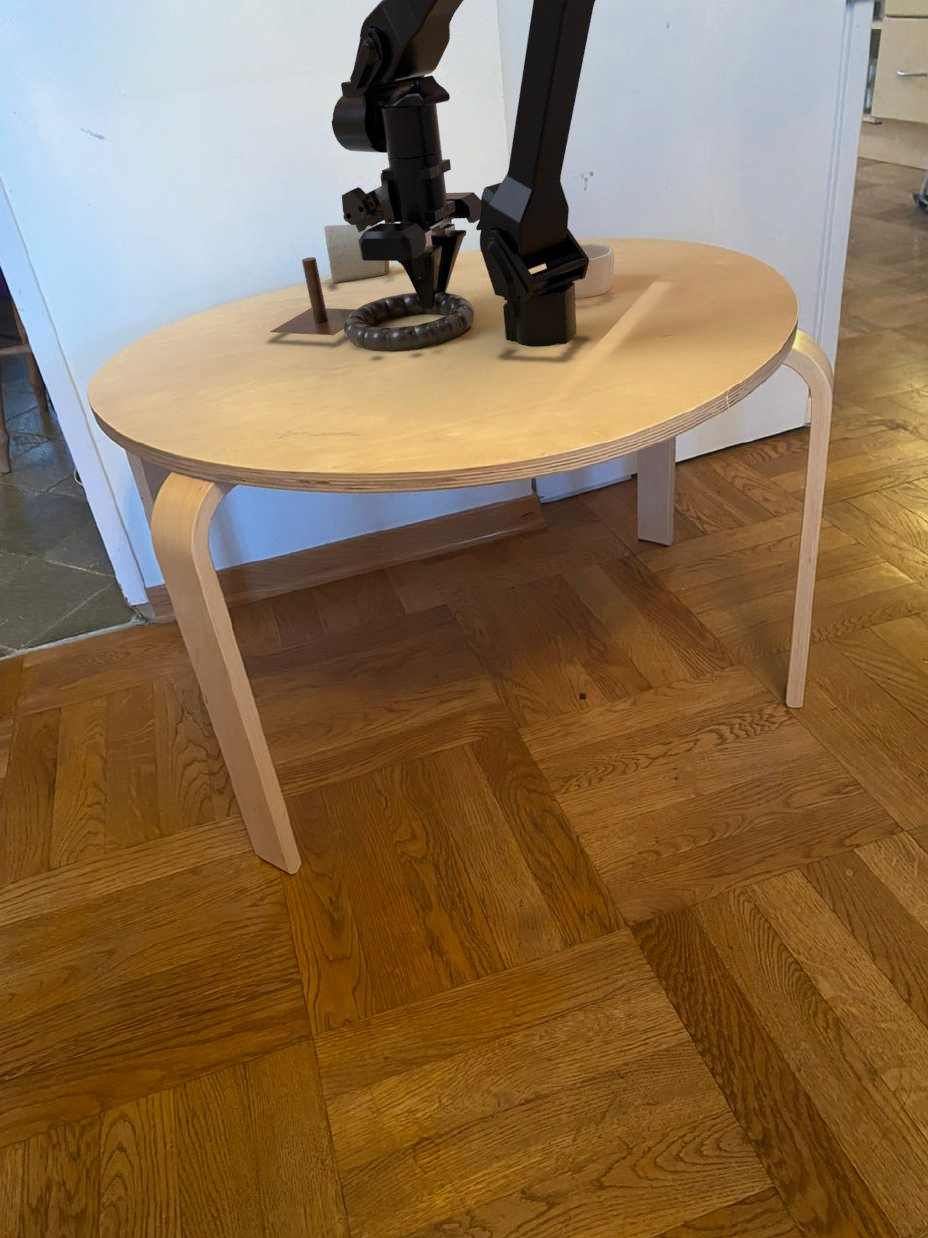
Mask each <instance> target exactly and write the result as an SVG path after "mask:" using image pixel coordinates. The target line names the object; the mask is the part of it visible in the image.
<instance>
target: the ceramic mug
mask: <svg viewBox="0 0 928 1238" xmlns="http://www.w3.org/2000/svg"><path fill="white" fill-rule="evenodd" d="M378 224H379V223H377V224H376V225H378ZM376 225H374V226H376ZM374 226H367V227H366V229H365V230H364V231H366V230H368V229H370V228H372V227H374ZM323 229H324V230H323V231H324V235H325V236H324V237H325V245H326V250H327V257H328V262H329V269H330V275H331V278H330V279H331V283H332V284H337V283H343V282H349V281H357V280H362V279H370V278H375V277H380V276H381V277H382V276H386V275H388V274H390V272H391V271H390V261H363V260H362V259H361V254H360V248H359V242H358V241H359V239H360V237H361V236H362V234H363V233H364V231H362V232H360V233H359V232H358V230H357V228H356V226H355V225H351V224H333V225H325V226H324V228H323Z"/></svg>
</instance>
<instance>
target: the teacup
mask: <svg viewBox="0 0 928 1238" xmlns="http://www.w3.org/2000/svg"><path fill="white" fill-rule="evenodd" d="M578 243H579V242H578ZM579 245H580V246H581V248H582V249H583V251H584V252H585V254H586V255H587V256H588V258H589V264H588V268H587V272H586V276H585V278H584V279H581V280H577V281H574V283H575V300H577V299H585V298H586V299H587V298H588V299H589V298H593V297H597V296H600V295H603V294H605V293H607V292H609V290H610V288H611V286H612V284H613V283H612V282H613V280H614V270H615V269H614V268H615V251H614V248H613V247H612V246H611V245H609V244H605V243H599V242H580V243H579Z"/></svg>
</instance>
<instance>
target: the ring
mask: <svg viewBox="0 0 928 1238" xmlns="http://www.w3.org/2000/svg"><path fill="white" fill-rule="evenodd" d="M356 309H357V310H355V311H353V312H352V313H351V314H350V315H349V316H348V318H347V320H346V322H345V325H344V329H343V333H344V335H345V336H346V338H347V340H349V341H350V343H351V344H352V345H354V346H356V347H359V348H363V349H365V350H368V351H380V352H399V351H400V352H401V351H409V350H419V349H422V348H427V347H431V346H436V345H440V344H443V343H445V342H448V341H450V340H453V339H455V338H457V337H459V336H461V335H462V334H463V333H465V332H466V331H467V330H468V329H470V327H471V326H472V325H473V322H474V317H475V308H474V306H473V304H472V303H471V302H470V301H468V300H467V299H466V298H464V297H463V296H461V295H459V294H455V293H451V292H446V293H445V292H436V295H435V300H434V305H433V308H431V309H425V308H424V307H423V306H422V303H421V301H420V299H419V297H418V295H417V293H416V292H408V293H400V294H396V295H391V296H386V297H382V298H379V299H376V300H373V301H371V302H368V303H365V304H363V305H362V306H359V307H358V308H356ZM423 314H425V315H427V314H429V315H442V316H443V317H440V318H437V319H435V320H432V321H428V322H422V323H419V324H414V325H405V326H397V327H384V326H383V327H382V326H381V327H380V326H374V325H377V324H379V323H383V322H384V321H385V322H386V321H388V320H391V319H396V318H401V317H404V316H411V315H412V316H413V315H423Z"/></svg>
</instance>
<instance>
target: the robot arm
mask: <svg viewBox="0 0 928 1238" xmlns="http://www.w3.org/2000/svg"><path fill="white" fill-rule="evenodd" d="M463 2H464V0H381V1H380V2H379V3H377V5H376V6H375V7H374V8H373V9H372V10H371V12H370V13H368V15H367V16H366V17H365V18H364V20H363V22H362V24H361V28H360V33H359V42H358V46H357V52H356V55H355V61H354V65H353V70H352V72H351V75H350V77H349V80H347V81H343V82H341V84H340V87H341V93H342V96H340V97H339V99H338V100H337V101H336V103H335V105H334V109H333V112H332V119H331V128H332V132H333V135H334V137H335V139H336V141H337V142H338V144H339V145H340V146H341V147H343V149H345V150H347V151H350V152H363V153H379V154H381V153H382V154H387V155H386V156H387V160H388V161H387V162H388V167H386V168H384V169H382V170H381V173H380V176H379V177H380V183H381V184H380V185H381V186H378V187H377V188H375V189H373V190H371V191H368V192H365V191H364V190H363V189H362V188H361V187H359V186H358V187H356V188H353V189H351V190H348V191H347V192H345V193H343V194H341V206H342V213H343V217H342V218H343V220H344V221H345V222H347V223H348V225H355V226H356V228H357V230H358V232H359V233H360V232H362V231H364V230H365V229H366V227H367V226H374V225H376V224H378V225H376V226H374V227H372V228H370V229H368V230H366V231H364V233H363V234H362V236H361V237H360V239H359V241H358V242H359V248H360V254H361V259H362V260H363V261H389V262H398V263H399V264H400V265H401V266H402V267H403V269H404V271H405V273H406V274H407V276H408V278H409V280H410V283H411V284H412V287H413V288H414V292H415V293H417V295H418V297H419V299H420V301H421V303H422V306H423V307H424V308H425V309H431V308H433V305H434V300H435V295H436V292H445V293H447V290H448V287H449V284H450V282H451V277H452V274H453V270H454V267H455V265H456V261H457V258H458V255H459V252H460V250H461V247H462V244H463V240H464V238H465V237H466V236H467V230H466V229H456V225H455V223H453V221H452V220H454V219H466V220H467V222H468V224H474V223H475V224H476V223H477V222H478V223H477V224H476V227H475V230H476V231H480V234H479V248H480V252H481V256H482V258H483V262H484V265H485V267H486V270H487V271H486V272H487V274H488V277H489V280H490V283H491V286H492V290H493V293H494V295H495V296H497V297H502V298H503V300H504V301H506V303H504V304H503V305H502V309H503V323H504V334H505V335H504V337H505V341H510V342H511V343H514V342H515V343H518V345H521V346H525V347H533V348H539V347H542V348H543V347H550V346H555V345H567V344H568V343H569V341H571V340H572V339H573V338H574V337H575V336H576V335H577V310H576V299H575V283H574V281H577V280H581V279H584V278H585V276H586V272H587V268H588V264H589V258H588V256H587V255H586V254H585V252H584V251H583V249H582V248H581V246H580V245H579V242H578V241H577V239H576V237H575V236H574V234H572V232H571V231H570V229H569V228H568V226H569V214H570V213H569V212H570V208H569V202H568V200H567V197H566V194H565V191H564V188H563V184H562V181H561V180H562V179H561V178H562V171H563V166H564V161H565V156H566V152H567V151H566V150H567V147H568V146H567V145H568V140H569V135H570V130H571V125H572V120H573V115H574V114H573V113H574V110H575V104H576V99H577V94H578V88H579V84H580V83H579V82H580V78H581V75H582V74H581V73H582V69H583V68H582V67H583V62H584V58H585V53H586V47H587V43H588V38H589V32H590V28H591V27H590V26H591V22H592V18H593V17H592V16H593V12H594V11H593V10H594V6H595V3H596V0H532V8H531V14H530V22H529V29H528V35H527V42H526V47H525V55H524V63H523V67H522V68H523V69H522V75H521V83H520V90H519V95H518V103H517V108H516V109H517V110H516V116H515V123H514V130H513V137H512V142H511V149H510V157H509V164H508V169H507V172H506V175H505V176H504V178H503V180H502V181H501V182H498V183H495V184H491V185H488V186H485V187H484V188H483V191H482V194H481V197H479V196H478V195H477V194H476V193H475V192H473V191H468V192H467V191H466V192H465V191H463V192H447V188H446V179H445V173H447V172H449V171H451V170H452V168H451V167H452V166H451V159H450V158H446V159H445V158H444V159H443V153H442V152H443V151H442V144H441V143H442V142H441V135H440V126H439V117H438V108H437V104H440V103H446V102H449V101H450V99H451V96H450V93H449V91H447V90H446V89H445V87H443V86H442V85H441V84H440V83H438V81H437V80H436V79H435V77H434V76H433V75H430V74H432V73H433V72H434V71H435V70H436V69H437V67H438V66H439V64H440V62H441V59H442V58H443V56H444V53H445V51H446V49H447V47H448V45H449V43H450V41H451V24H450V23H451V22H452V20H453V18H454V16H455V13H456V12H457V10H458V9H459V8H460V7H461V5H462V3H463ZM383 222H384V223H383ZM543 265H545V268H543V269H541V270H538V271H535V272H533V273H531V272H530V270H532V269H535V268H538V267H540V266H543Z"/></svg>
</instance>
